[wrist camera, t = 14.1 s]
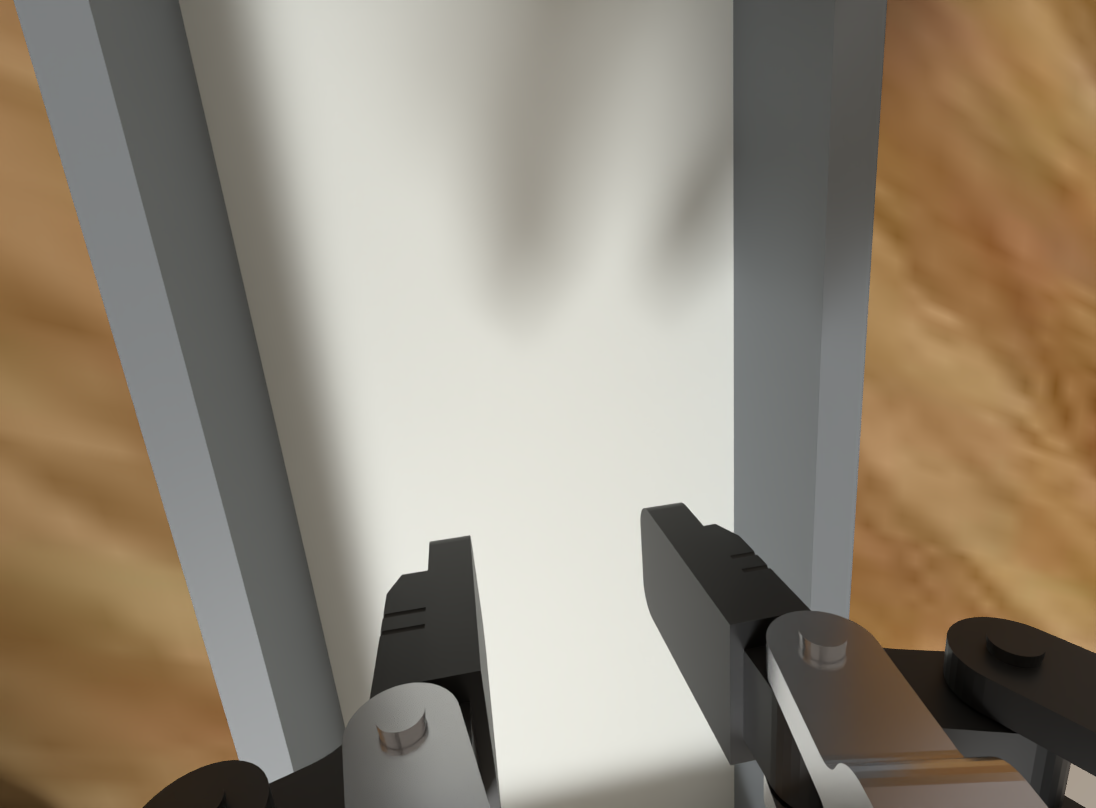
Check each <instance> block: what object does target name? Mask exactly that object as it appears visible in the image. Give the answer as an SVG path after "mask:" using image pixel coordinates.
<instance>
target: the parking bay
mask: <svg viewBox="0 0 1096 808" xmlns="http://www.w3.org/2000/svg"><path fill="white" fill-rule="evenodd" d="M14 3H15V7H16V10H17V14H18V17H19V20H20V24H21V27H22V30H23V34H24V37H25V41H26V44H27V47H28V51H29V54H30V57H31V61H32V64H33V67H34V71H35V74H36V78H37V81H38V84H39V88H40V91H41V94H42V98H43V101H44V105H45V108H46V111H47V115H48V118H49V121H50V125H51V128H52V131H53V135H54V138H55V142H56V145H57V148H58V152H59V155H60V158H61V162H62V165H63V169H64V172H65V175H66V179H67V182H68V185H69V189H70V192H71V196H72V199H73V202H74V206H75V209H76V212H77V216H78V219H79V222H80V226H81V229H82V233H83V236H84V239H85V243H86V246H87V249H88V253H89V256H90V260H91V263H92V266H93V270H94V273H95V276H96V280H97V283H98V286H99V290H100V293H101V297H102V300H103V303H104V307H105V310H106V313H107V317H108V320H109V324H110V327H111V330H112V334H113V337H114V340H115V344H116V347H117V350H118V354H119V357H120V361H121V364H122V367H123V371H124V374H125V377H126V381H127V384H128V388H129V391H130V394H131V398H132V401H133V404H134V408H135V411H136V415H137V418H138V421H139V425H140V428H141V431H142V435H143V438H144V441H145V445H146V448H147V452H148V455H149V458H150V462H151V465H152V468H153V472H154V475H155V479H156V482H157V485H158V489H159V492H160V495H161V499H162V502H163V505H164V509H165V512H166V516H167V519H168V522H169V526H170V529H171V532H172V536H173V539H174V543H175V546H176V549H177V553H178V556H179V559H180V563H181V566H182V570H183V573H184V576H185V580H186V583H187V586H188V590H189V593H190V596H191V600H192V603H193V607H194V610H195V613H196V617H197V620H198V623H199V627H200V630H201V634H202V637H203V640H204V644H205V647H206V650H207V654H208V657H209V660H210V664H211V667H212V671H213V674H214V677H215V681H216V684H217V687H218V691H219V694H220V698H221V701H222V704H223V708H224V711H225V714H226V718H227V721H228V725H229V728H230V731H231V735H232V738H233V741H234V745H235V748H236V751H237V755H238V758H239V761H246V762H250V763H253V764H255V765H257V766H258V767H260V768H261V769H262V770H263V771H264V773H265V775H266V776H267V778H268V782H269V783H271V782H274V781H276V780H278V779H280V778H282V777H284V776H287V775H289V774H291V773H293V772H295V771H298V770H300V769H302V768H304V767H306V766H308V765H311V764H313V763H315V762H316V761H318V760H320V759H322V758H324V757H325V756H327V755H328V754H330V753H332V752H333V751H334V750H336V749H337V748H338V747H339V746H341V745H342V739H343V734H344V731H345V728H346V726H347V724H348V722H349V720H350V719H351V718H352V716H353V715H354V713H355V712H356V711H357V710H358V709H359V708H360V707H361V706H362V705H363V704H365V703H366V702H367V701H368V700H369V699H370V693H371V687H372V681H373V675H374V668H375V662H376V656H377V650H378V644H379V638H380V636H381V632H380V631H381V625H382V619H383V618H384V616H383V613H384V607H385V601H386V595H387V593H388V592H389V590H390V589H391V588H392V586H393V585H394V584H395V583H396V581H397V580H398V579H399V578H400V576H401V575H403V574H409V573H415V572H421V571H427V570H428V558H429V542H430V541H436V540H443V539H449V538H455V537H462V536H468V535H470V536H471V541H472V548H473V555H474V562H475V569H476V576H477V584H478V591H479V598H480V605H481V612H482V620H483V628H484V636H485V645H486V655H487V666H488V676H489V687H490V697H491V708H492V718H493V728H494V739H495V749H496V760H497V770H498V781H499V791H500V801H501V808H766V807H765V803H764V773H763V772H762V770H761V768H760V767H759V765H758V763H757V762H756V760H753V761H749V762H744V763H740V764H735V765H730V764H729V762H728V760H727V758H726V756H725V754H724V753H723V751H722V749H721V747H720V745H719V743H718V741H717V739H716V738H715V736H714V734H713V732H712V730H711V728H710V726H709V724H708V722H707V721H706V719H705V717H704V715H703V713H702V711H701V709H700V707H699V706H698V704H697V702H696V700H695V698H694V696H693V694H692V692H691V690H690V689H689V687H688V685H687V683H686V681H685V679H684V677H683V675H682V674H681V672H680V670H679V668H678V666H677V664H676V662H675V660H674V659H673V657H672V655H671V653H670V651H669V649H668V647H667V645H666V643H665V642H664V640H663V638H662V636H661V634H660V632H659V630H658V628H657V627H656V625H655V623H654V621H653V619H652V617H651V614H650V612H649V609H648V605H647V602H646V597H645V592H644V584H643V566H642V546H641V526H640V516H641V511H642V509H643V508H648V507H655V506H661V505H667V504H674V503H680V502H682V503H684V504H685V505H686V506H687V507H688V508H689V510H690V511H691V512H692V513H693V514H694V515H695V517H696V518H697V519H698V520H699V521H700V522H701V523H702V525H703V526H705V525H711V524H717V525H719V526H721V527H723V528H725V529H727V530H729V531H731V532H733V533H735V534H737V535H739V536H740V537H741V538H742V539H743V540H744V541H745V542H746V543H747V544H748V545H749V546H750V547H751V548H752V549H753V551H754V553H755V555H758V556H759V557H760V558H761V559H762V560H763V561H764V562H765V563H766V564H767V567H768V568H771V569H772V570H773V571H774V572H775V573H776V574H777V576H778V577H779V578H780V579H781V580H782V581H783V582H784V583H785V584H786V585H787V586H788V587H789V588H790V589H791V590H792V591H793V592H794V593H795V594H796V595H797V596H798V597H799V598H800V599H801V600H802V602H803V603H804V604H805V605H806V606H807V607H808V608H809V609H810V610H811V611H821V612H826V613H831V614H835V615H838V616H841V617H844V618H846V619H849V609H850V592H851V576H852V560H853V544H854V528H855V512H856V495H857V479H858V463H859V447H860V431H861V414H862V398H863V382H864V366H865V350H866V334H867V317H868V301H869V285H870V269H871V253H872V236H873V220H874V204H875V188H876V172H877V156H878V139H879V123H880V107H881V91H882V75H883V58H884V42H885V26H886V10H887V0H14Z"/></svg>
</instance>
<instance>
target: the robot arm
mask: <svg viewBox="0 0 1096 808" xmlns="http://www.w3.org/2000/svg"><path fill="white" fill-rule="evenodd" d="M640 526H641V546H642V566H643V584H644V592H645V597H646V602H647V605H648V609H649V612H650V614H651V617H652V619H653V621H654V623H655V625H656V627H657V628H658V630H659V632H660V634H661V636H662V638H663V640H664V642H665V643H666V645H667V647H668V649H669V651H670V653H671V655H672V657H673V659H674V660H675V662H676V664H677V666H678V668H679V670H680V672H681V674H682V675H683V677H684V679H685V681H686V683H687V685H688V687H689V689H690V690H691V692H692V694H693V696H694V698H695V700H696V702H697V704H698V706H699V707H700V709H701V711H702V713H703V715H704V717H705V719H706V721H707V722H708V724H709V726H710V728H711V730H712V732H713V734H714V736H715V738H716V739H717V741H718V743H719V745H720V747H721V749H722V751H723V753H724V754H725V756H726V758H727V760H728V762H729V764H730V765H735V764H740V763H744V762H749V761H753V760H756V762H757V763H758V765H759V767H760V768H761V770H762V772H763V773H764V803H765V807H766V808H1085V807H1083V806H1082V805H1080V804H1078V803H1076V802H1075V801H1073V800H1071V799H1070V798H1068V797H1066V796H1065V795H1064V794H1065V790H1066V785H1067V779H1068V774H1069V769H1070V765H1071V763H1072V764H1074V765H1076V766H1078V767H1080V768H1081V769H1083V770H1085V771H1087V772H1089V773H1090V774H1092V775H1094V776H1096V653H1094V652H1091V651H1089V650H1086V649H1084V648H1082V647H1079V646H1077V645H1075V644H1072V643H1070V642H1067V641H1065V640H1063V639H1060V638H1058V637H1056V636H1053V635H1051V634H1048V633H1046V632H1044V631H1041V630H1039V629H1036V628H1034V627H1031V626H1028V625H1025V624H1022V623H1019V622H1015V621H1010V620H1006V619H1000V618H991V617H974V618H968V619H964V620H961V621H958V622H956V623H955V624H953V625H952V626H951V627H950V628H949V630H948V632H947V639H946V647H945V652H944V651H924V650H903V649H889V648H882V647H881V645H880V644H879V643H878V641H877V640H876V639H875V638H874V636H873V635H872V634H871V633H869V632H868V631H867V630H866V629H865V628H863V627H862V626H860V625H858V624H857V623H855V622H853V621H851V620H849V619H846V618H844V617H841V616H838V615H835V614H831V613H826V612H821V611H811V610H810V609H809V608H808V607H807V606H806V605H805V604H804V603H803V602H802V600H801V599H800V598H799V597H798V596H797V595H796V594H795V593H794V592H793V591H792V590H791V589H790V588H789V587H788V586H787V585H786V584H785V583H784V582H783V581H782V580H781V579H780V578H779V577H778V576H777V574H776V573H775V572H774V571H773V570H772V569H771V568H768V567H767V564H766V563H765V562H764V561H763V560H762V559H761V558H760V557H759V556H758V555H755V553H754V551H753V549H752V548H751V547H750V546H749V545H748V544H747V543H746V542H745V541H744V540H743V539H742V538H741V537H740V536H739V535H737V534H735V533H733V532H731V531H729V530H727V529H725V528H723V527H721V526H719V525H717V524H711V525H705V526H703V525H702V523H701V522H700V521H699V520H698V519H697V518H696V517H695V515H694V514H693V513H692V512H691V511H690V510H689V508H688V507H687V506H686V505H685V504H684V503H682V502H680V503H674V504H667V505H661V506H655V507H648V508H643V509H642V511H641V516H640ZM383 616H384V618H383V619H382V625H381V631H380V632H381V636H380V638H379V644H378V650H377V656H376V662H375V668H374V675H373V681H372V687H371V693H370V699H369V700H368V701H367V702H366V703H365V704H363V705H362V706H361V707H360V708H359V709H358V710H357V711H356V712H355V713H354V715H353V716H352V718H351V719H350V720H349V722H348V724H347V726H346V728H345V731H344V734H343V739H342V745H341V746H339V747H338V748H337V749H336V750H334V751H333V752H332V753H330V754H328V755H327V756H325V757H324V758H322V759H320V760H318V761H316V762H315V763H313V764H311V765H308V766H306V767H304V768H302V769H300V770H298V771H295V772H293V773H291V774H289V775H287V776H284V777H282V778H280V779H278V780H276V781H274V782H271V783H269V782H268V778H267V776H266V775H265V773H264V771H263V770H262V769H261V768H260V767H258V766H257V765H255V764H253V763H250V762H246V761H239V760H231V761H222V762H218V763H213V764H210V765H207V766H204V767H201V768H199V769H197V770H194V771H192V772H190V773H188V774H186V775H184V776H183V777H181V778H179V779H177V780H176V781H174V782H173V783H171V784H170V785H168V786H167V787H165V788H164V789H163V790H162V791H160V792H159V793H158V794H157V795H156V796H154V797H153V798H152V799H151V800H150V801H149V802H148V803H147V804H146V805H145V806H144V807H143V808H501V801H500V791H499V781H498V770H497V760H496V749H495V739H494V728H493V718H492V708H491V697H490V687H489V676H488V666H487V655H486V645H485V636H484V628H483V620H482V612H481V605H480V598H479V591H478V584H477V576H476V569H475V562H474V555H473V548H472V541H471V536H470V535H468V536H462V537H455V538H449V539H443V540H436V541H430V542H429V558H428V570H427V571H421V572H415V573H409V574H403V575H401V576H400V578H399V579H398V580H397V581H396V583H395V584H394V585H393V586H392V588H391V589H390V590H389V592H388V593H387V595H386V601H385V607H384V613H383Z"/></svg>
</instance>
